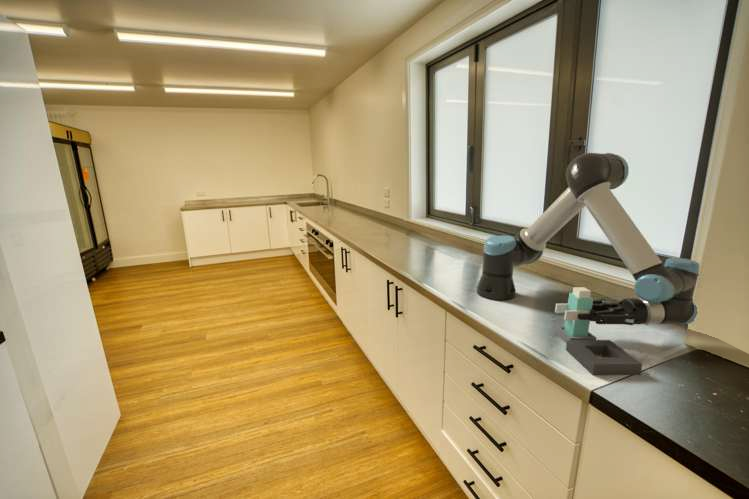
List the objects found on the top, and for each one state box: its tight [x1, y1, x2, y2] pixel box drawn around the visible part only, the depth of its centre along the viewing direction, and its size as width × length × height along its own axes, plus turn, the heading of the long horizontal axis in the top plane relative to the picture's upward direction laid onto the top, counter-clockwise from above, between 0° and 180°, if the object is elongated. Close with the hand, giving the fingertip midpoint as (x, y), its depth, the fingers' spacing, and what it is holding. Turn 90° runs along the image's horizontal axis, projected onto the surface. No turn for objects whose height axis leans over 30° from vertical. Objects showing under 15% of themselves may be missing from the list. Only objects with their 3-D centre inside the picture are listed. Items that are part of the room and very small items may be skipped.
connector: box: [564, 286, 594, 337], centre depth 101 cm, size 4×4×16 cm
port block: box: [565, 339, 643, 376], centre depth 91 cm, size 12×12×3 cm
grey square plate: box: [555, 325, 597, 345], centre depth 102 cm, size 8×8×2 cm
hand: (560, 311), depth 100 cm, fingers closed on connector, 4 cm apart
